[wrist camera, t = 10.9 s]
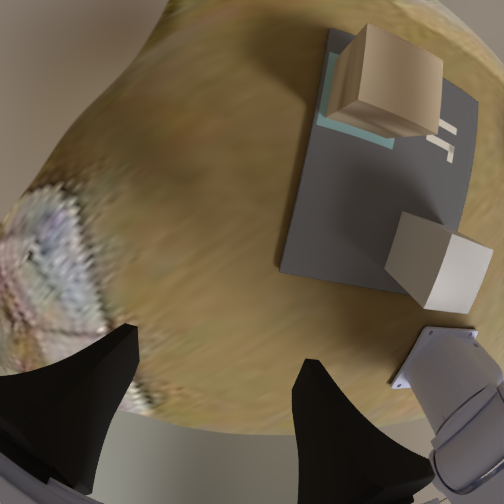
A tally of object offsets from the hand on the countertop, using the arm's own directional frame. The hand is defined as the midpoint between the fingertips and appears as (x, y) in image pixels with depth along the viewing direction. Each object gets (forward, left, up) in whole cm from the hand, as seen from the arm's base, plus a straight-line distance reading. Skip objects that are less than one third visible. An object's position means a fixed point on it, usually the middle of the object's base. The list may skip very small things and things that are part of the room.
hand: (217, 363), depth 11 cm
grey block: (-13, -5, -9) cm, 16 cm away
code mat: (-10, -10, -9) cm, 17 cm away
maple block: (-6, -14, -9) cm, 18 cm away
